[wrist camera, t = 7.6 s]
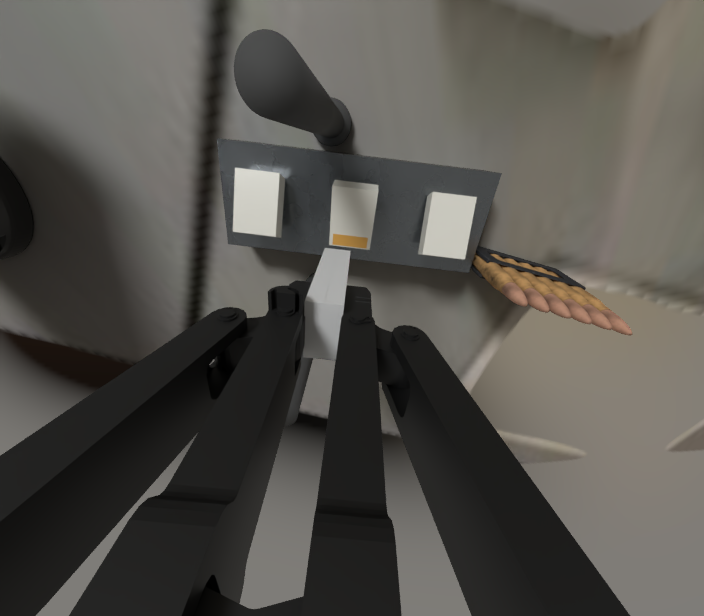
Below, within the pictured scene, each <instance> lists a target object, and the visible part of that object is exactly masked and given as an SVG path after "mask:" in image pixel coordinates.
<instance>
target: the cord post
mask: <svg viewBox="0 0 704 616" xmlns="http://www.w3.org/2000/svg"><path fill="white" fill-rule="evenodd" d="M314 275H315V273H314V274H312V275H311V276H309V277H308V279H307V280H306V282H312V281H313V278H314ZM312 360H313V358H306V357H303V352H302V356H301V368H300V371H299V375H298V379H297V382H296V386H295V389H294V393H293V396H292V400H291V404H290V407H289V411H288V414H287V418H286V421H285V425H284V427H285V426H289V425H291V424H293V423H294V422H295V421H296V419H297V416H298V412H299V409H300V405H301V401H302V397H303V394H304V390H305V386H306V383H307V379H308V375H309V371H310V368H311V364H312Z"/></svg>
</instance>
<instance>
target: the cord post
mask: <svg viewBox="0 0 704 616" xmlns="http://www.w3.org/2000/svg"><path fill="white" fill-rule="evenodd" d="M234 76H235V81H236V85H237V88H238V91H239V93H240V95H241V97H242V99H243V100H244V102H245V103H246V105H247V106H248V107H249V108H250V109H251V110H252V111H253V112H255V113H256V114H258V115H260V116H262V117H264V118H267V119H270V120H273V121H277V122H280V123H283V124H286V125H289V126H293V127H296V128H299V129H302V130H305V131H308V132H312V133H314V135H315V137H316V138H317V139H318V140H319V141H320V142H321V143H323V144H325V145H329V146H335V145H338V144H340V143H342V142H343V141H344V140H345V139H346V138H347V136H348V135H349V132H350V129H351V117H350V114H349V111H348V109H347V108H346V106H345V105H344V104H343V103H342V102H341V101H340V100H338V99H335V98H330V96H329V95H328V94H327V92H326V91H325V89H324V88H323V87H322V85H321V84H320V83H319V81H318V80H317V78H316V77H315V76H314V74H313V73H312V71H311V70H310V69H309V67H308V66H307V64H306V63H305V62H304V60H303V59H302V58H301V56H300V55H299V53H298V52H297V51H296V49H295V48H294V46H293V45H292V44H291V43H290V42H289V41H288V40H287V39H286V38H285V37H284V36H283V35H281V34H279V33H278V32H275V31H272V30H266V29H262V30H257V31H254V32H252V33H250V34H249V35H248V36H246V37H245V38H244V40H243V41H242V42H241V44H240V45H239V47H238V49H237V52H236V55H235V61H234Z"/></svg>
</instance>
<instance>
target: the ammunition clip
mask: <svg viewBox="0 0 704 616" xmlns="http://www.w3.org/2000/svg"><path fill="white" fill-rule="evenodd" d="M470 268H471V269H472V270H473V271H474V272H475V273H476V274H477V275H478V276H479V277H480V278H484V279H486V280H487V281H488V282H489V283H490V284H491V285H492V286H493V287H494V288H495V289H497V290H499V291H500V292H501V293H502V294H504V295H505V296H506V297H507V298H508V299H510V300H511V301H512V302H514V303H516V304H518V305H520V306H527V305H528V304H529V305H530V306H532V307H533V308H535V309H537V310H539V311H542V312H549V311H551V312H552V313H554V314H556V315H559V316H561V317H564V318H573V319H575V320H577V321H579V322H582V323H585V324H591V323H592V324H594V325H596V326H598V327H600V328H603V329H607V330H611V329H612V330H614V331H616V332H619V333H621V334H625V335H632V331H631V329H630V327H629V326H628V325H627V324H626V323H625V322H624V321H623V320H622V319H621V318H620V317H619V316H618V315H616V314H615V313H614V312H612V311H611V310H610V309H608V308H607V307H606V306H605V305H604V304H603V303H602V302H601V301H600V300H599V299H597V298H596V297H594V296H593V295H591V294H590V293H588V292H587V291H585V289H586V288H585V287H584V286H582V285H581V284H579V283H578V282H576V281H574V280H573V279H571V278H570V277H568V276H567V275H565V274H564V273H562V272H560V271H559V270H557V269H555V268H552V267H548V266H545V265H541V264H538V263H535V262H531V261H528V260H524V259H521V258H517V257H514V256H511V255H507V254H504V253H500V252H497V251H494V250H490V249H487V248H483V247H480V246H477V249H476V252H475V255H474V258H473V261H472V264H471V267H470Z"/></svg>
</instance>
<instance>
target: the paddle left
mask: <svg viewBox="0 0 704 616" xmlns="http://www.w3.org/2000/svg"><path fill="white" fill-rule="evenodd" d="M284 189H285V178H284V177H283V176H282V175H281V174H280V173H275V172H267V171H259V170H251V169H243V168H235V180H234V209H233V232H238V233H245V234H254V235H262V236H270V237H279V238H281V234H282V219H283V204H284Z"/></svg>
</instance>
